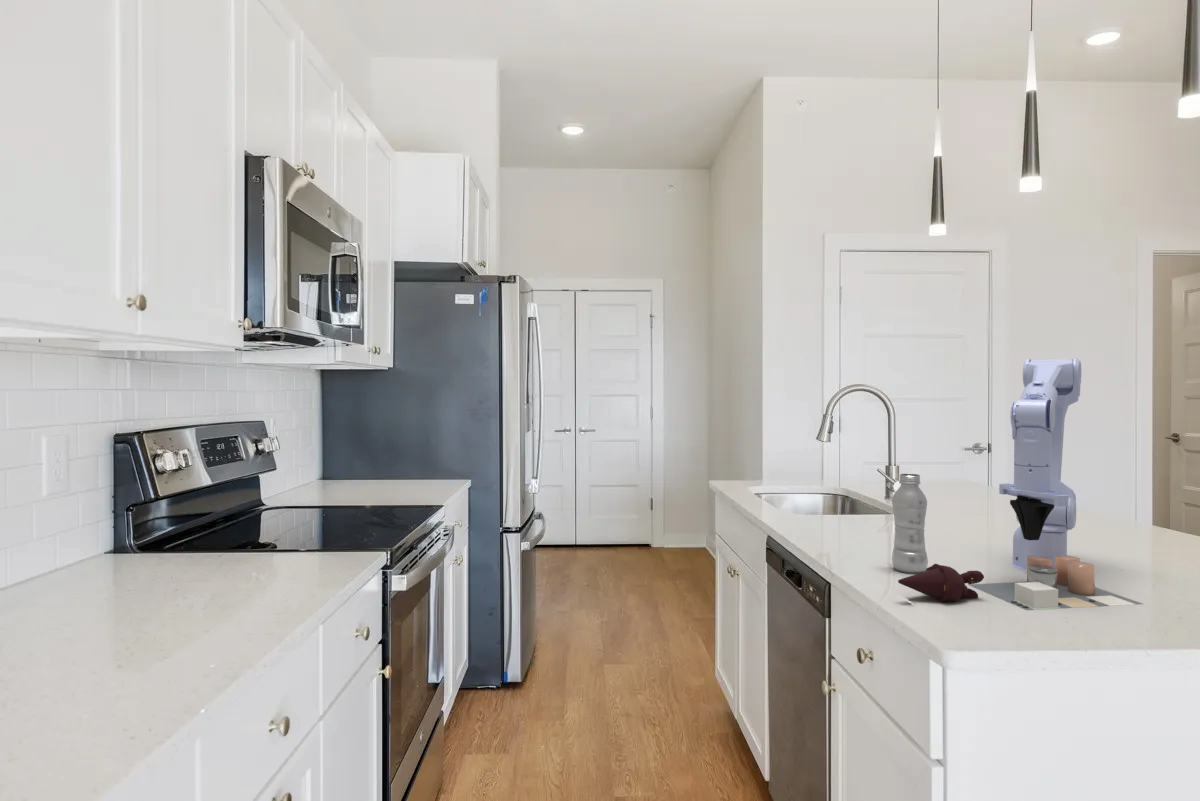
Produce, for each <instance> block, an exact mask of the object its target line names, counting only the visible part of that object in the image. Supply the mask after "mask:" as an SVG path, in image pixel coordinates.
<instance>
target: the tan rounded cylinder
mask: <svg viewBox="0 0 1200 801" xmlns="http://www.w3.org/2000/svg"><path fill="white" fill-rule="evenodd" d="M1067 564H1068V591H1069V592H1072V593H1075V594H1082V595H1093V594H1095V587H1096V585H1095V584H1096V583H1095V582H1096V581H1095V576H1096V575H1095V573H1096V572H1095V564H1094V563H1091V562H1083V561H1080V562H1068V563H1067Z"/></svg>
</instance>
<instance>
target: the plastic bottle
mask: <svg viewBox="0 0 1200 801" xmlns="http://www.w3.org/2000/svg"><path fill="white" fill-rule="evenodd" d="M898 482H899V484H900V486H899V487H898V488H897V490H895V492H894V494H893V495H892V498H891V505H892V511H893V512H892V513H893V517H894V519H893V520H894V540H893V541H894V543H893V549H892V556H891V562H892V566H893V568H894V570H895V571H897V572H901V573H902V574H903V573H905V574H910V575H911V574H913V575H916V574H919V573H923V572H926V569H927V568H928V563H929V559H928V554H927V551H926V550H927V549H926V542H925V524H926V515H927V509H928V500H927V496H926V495H925V493H924V492H923V491H922V488H920V486H919V485H921V475H920V474H917V473H900V474H899V481H898Z"/></svg>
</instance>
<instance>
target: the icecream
mask: <svg viewBox="0 0 1200 801" xmlns="http://www.w3.org/2000/svg"><path fill="white" fill-rule="evenodd" d="M984 578H985V576H984V574H983V572H982V571H979V570H967V571H966V572H963V573H959V572H958V571H957V570H956V569H955V568H953V567H951V566H949V565H942V564H938V563H934V564H932V565H931V566H928V567H927V569H926V570H925V572H923V573H919V574H913V575H910V576H906V577H904V578H901V579H898V581H897V583H898V584H901V585H903V586H905V587H907V588H910V589H911V590H915V591H916V592H919V593H921V594H922V595H925V596H928V597H929V598H932V599H933V600H934V599H935V600H936V601H938V602H939V603H942V604H944V603H954V602H956V601H958V600H960V599H978V598H979V594H978V592H976V590H974V589H971V588H968V584H980V582H982V581H983V580H984ZM966 584H967V585H966Z"/></svg>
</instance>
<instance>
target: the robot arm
mask: <svg viewBox="0 0 1200 801" xmlns="http://www.w3.org/2000/svg"><path fill="white" fill-rule="evenodd" d="M1022 382H1023V386H1024V389H1023V391H1022V393H1021V395H1020V398H1018V399H1017V400H1016V401H1015V402H1014V401H1013V402H1012V403H1011V406H1010V414H1009V415H1010V417H1009V418H1010V424H1011V430H1012V434H1011V436H1012V440H1014V441H1013V442H1014V443H1013V444H1014V445H1013V446H1014V450H1013V484H1012V483H999V484H998V485H999V488H998V489H999V494H1000V495H1008V496H1013V497H1016V498H1015V499H1009V504H1010V506H1011V507H1012V509H1013V510H1014V513H1015V516H1016V521H1017V522H1018V523H1019V526H1018V527H1017V528H1016V530H1014V533H1013V536H1012V563H1009V564H1008V565H1009V566H1013V567H1015V568H1018V569H1020V570H1023V571H1026V572H1027V556H1043V557H1048V558H1051V559H1052V567H1055V556H1056V555H1068V531H1072V530H1073V529H1074V528H1075V527H1076V522H1077V498H1076V494H1075V491H1074V490H1073V489H1072V488H1071V487H1069V486H1068V485H1067V484H1065V483H1063V482H1062V480H1061V478H1062V466H1063V464H1062V463H1063V448H1064V447H1063V446H1064V436H1065V434H1064V432H1065V419H1066V416H1067V415H1066V414H1067V411H1068V410H1069V406H1070V405H1073V404H1075V403H1078V402H1079V397H1080V395H1081V386H1082V385H1081V384H1082V362H1081V360H1080V359H1079V358H1078V357H1075V358H1074V357H1073V358H1056V359H1055V358H1054V359H1052V358H1051V359H1049V358H1048V359H1047V358H1046V359H1031V358H1027V359H1026V360H1025V361H1024V363H1023V366H1022Z"/></svg>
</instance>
